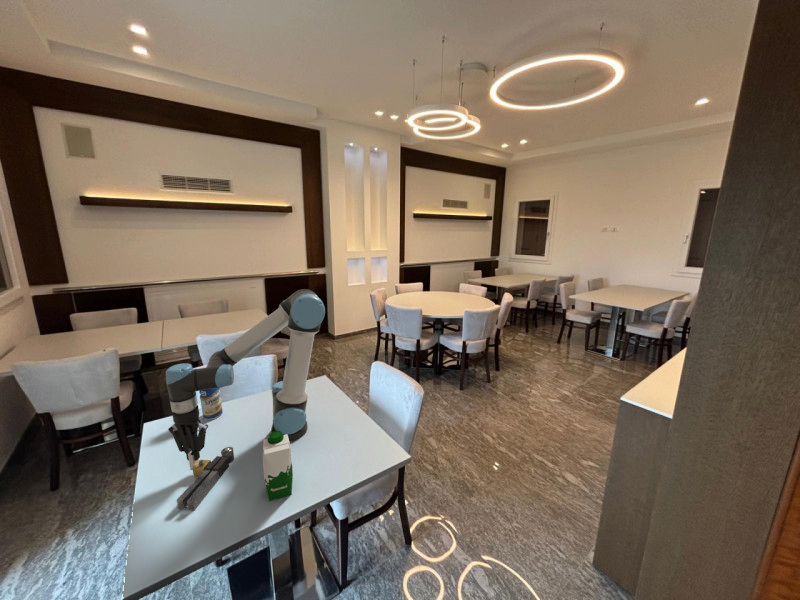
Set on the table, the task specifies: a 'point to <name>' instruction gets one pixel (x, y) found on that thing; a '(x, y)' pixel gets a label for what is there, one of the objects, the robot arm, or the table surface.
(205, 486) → the base
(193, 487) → the tong arm
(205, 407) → the beverage bottle
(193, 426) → the robot arm
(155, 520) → the table surface
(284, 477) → the milk carton
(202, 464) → the block
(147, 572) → the table surface
